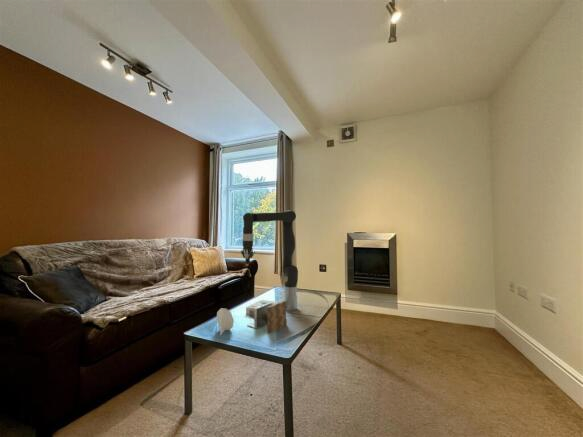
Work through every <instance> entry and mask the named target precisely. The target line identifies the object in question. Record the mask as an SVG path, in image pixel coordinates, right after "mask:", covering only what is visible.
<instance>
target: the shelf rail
mask: <svg viewBox="0 0 583 437" xmlns="http://www.w3.org/2000/svg"><path fill="white" fill-rule="evenodd" d="M249 317H252V318H254V310H250V315H249ZM287 324H288V321H287V318H286V319H285V326H284V327H287Z"/></svg>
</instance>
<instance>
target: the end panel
mask: <svg viewBox="0 0 583 437" xmlns="http://www.w3.org/2000/svg"><path fill="white" fill-rule="evenodd" d="M278 302H279V303H277V304H274V305H272V306H269V307H268V311H267V324H266V325H267V327H266V328H267V330H266V333H267V334H272V333H274V332H276V331H277V330H279V329H281V328H283V327H286V326H285V319H287V310H286V301H285V300H282V301H278Z"/></svg>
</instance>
